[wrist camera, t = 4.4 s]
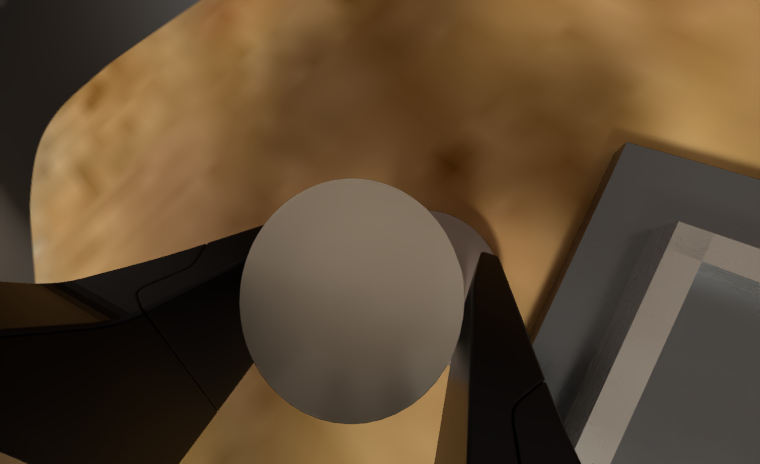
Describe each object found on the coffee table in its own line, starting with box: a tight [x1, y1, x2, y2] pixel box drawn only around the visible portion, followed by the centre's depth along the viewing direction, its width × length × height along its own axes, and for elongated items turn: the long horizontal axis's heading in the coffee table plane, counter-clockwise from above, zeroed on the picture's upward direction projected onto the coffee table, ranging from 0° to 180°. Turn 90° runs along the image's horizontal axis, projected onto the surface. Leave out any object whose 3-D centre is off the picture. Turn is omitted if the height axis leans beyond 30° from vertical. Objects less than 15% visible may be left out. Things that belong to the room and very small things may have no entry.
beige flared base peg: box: [239, 178, 494, 424], centre depth 10 cm, size 7×7×10 cm
